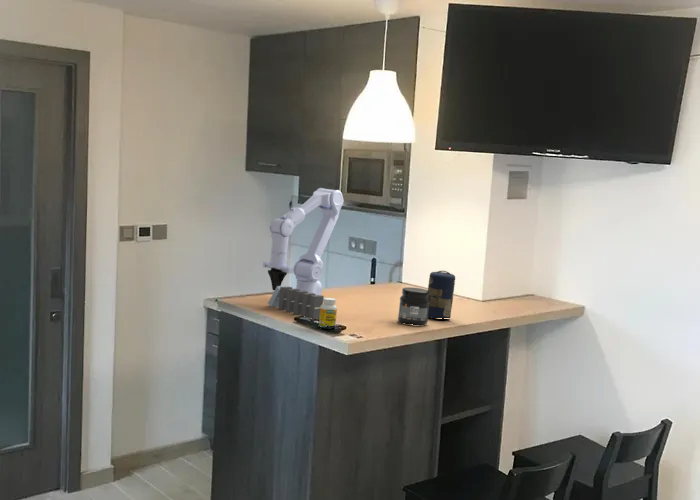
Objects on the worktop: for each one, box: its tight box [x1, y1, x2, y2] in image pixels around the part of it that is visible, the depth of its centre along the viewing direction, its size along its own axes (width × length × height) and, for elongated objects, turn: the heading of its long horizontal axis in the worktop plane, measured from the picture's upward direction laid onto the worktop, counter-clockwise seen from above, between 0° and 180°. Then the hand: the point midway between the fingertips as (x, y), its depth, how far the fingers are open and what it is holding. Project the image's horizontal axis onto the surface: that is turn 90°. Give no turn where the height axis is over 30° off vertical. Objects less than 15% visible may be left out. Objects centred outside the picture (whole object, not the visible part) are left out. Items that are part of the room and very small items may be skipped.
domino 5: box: [300, 293, 316, 318], centre depth 260 cm, size 2×4×8 cm, turn 135°
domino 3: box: [285, 288, 300, 314], centre depth 266 cm, size 2×4×8 cm, turn 135°
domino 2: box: [277, 286, 293, 311], centre depth 269 cm, size 2×4×8 cm, turn 136°
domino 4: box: [293, 291, 308, 316], centre depth 263 cm, size 2×4×8 cm, turn 136°
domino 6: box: [308, 294, 325, 320], centre depth 258 cm, size 2×4×8 cm, turn 135°
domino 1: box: [267, 285, 287, 308], centre depth 271 cm, size 2×4×8 cm
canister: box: [427, 270, 456, 319], centre depth 280 cm, size 10×10×18 cm
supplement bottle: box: [318, 297, 338, 327], centre depth 245 cm, size 5×5×10 cm
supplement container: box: [397, 286, 430, 326], centre depth 267 cm, size 10×10×12 cm
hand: (275, 290), depth 272 cm, fingers closed
